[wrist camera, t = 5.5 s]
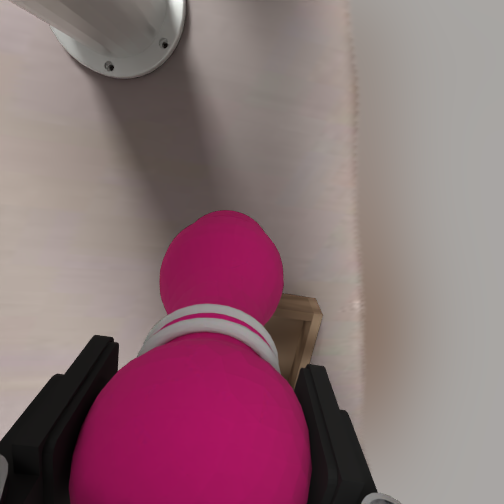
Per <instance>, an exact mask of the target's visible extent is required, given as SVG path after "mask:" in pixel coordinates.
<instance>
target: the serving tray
mask: <svg viewBox="0 0 504 504" xmlns="http://www.w3.org/2000/svg"><path fill="white" fill-rule="evenodd" d="M322 316H323V314H322V312H321V310H320V307H319V305H318V303H317V301H316V299H315V298H309V297H303V296H296V295H290V294H284V293H282V296H281V298H280V301H279V304H278V306H277V308H276V311H275V312H274V314H273V315H272V317H271V318H270V319H269V321H268V322H267V323H266V324H265V325H264V326H263V327H264V328H265V329H266V330H267V332H268V333H269V335H270V336H271V338H272V340H273V342H274V344H275V347H276V349H277V352H278V360H279V363H278V365H279V368H280V372H281V375H282V376H283V377H284V378H285V379H286V380H287V382H288V383H289V384H290V386H291V387H292V389H293V391H294V389H295V386H296V382H297V379H298V375H299V371H300V369H301V368H305V367H306V365H307V364H309V363H310V359H311V356H312V352H313V348H314V345H315V341H316V338H317V334H318V331H319V327H320V324H321V320H322Z"/></svg>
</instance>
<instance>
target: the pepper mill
mask: <svg viewBox="0 0 504 504" xmlns="http://www.w3.org/2000/svg"><path fill="white" fill-rule="evenodd" d="M283 286H284V282H283V266H282V261H281V258H280V254H279V252H278V250H277V248H276V246H275V245H274V243H273V242H272V241H271V239H270V238H269V237H268V236H267V235H266V234H265V232H264V231H263V229H262V228H261V227H260V226H259V224H258V223H257V222H255V221H254V220H253V219H252V218H250V217H249V216H247V215H245V214H242V213H239V212H236V211H229V210H222V211H215V212H212V213H209V214H207V215H204V216H203V217H201V218H200V219H198V220H197V221H196V222H195V223H193V224H191V225H189V226H188V227H186V228H185V229H184V230H182V231H181V232H180V233H179V234H178V235H177V236H176V237H175V238H174V240H173V241H172V243H171V244H170V245H169V247H168V250H167V252H166V254H165V257H164V259H163V262H162V265H161V269H160V294H161V299H162V302H163V304H164V307H165V309H166V312H167V314H168V315H167V316H166V317H164V318H163V319H162V320H160V321H159V322H158V323H157V324H156V325H155V326H154V327H153V328H152V330H151V331H150V332H149V334H148V335H147V337H146V339H145V341H144V344H143V347H142V348H141V350H140V352H139V353H138V356H137V358H135V359H133V360H132V361H130V362H129V363H128V364H126V365H125V366H124V367H123V368H121V369H120V370H119V371H118V372H117V373H116V374H115V375H114V376H113V377H112V379H111V380H110V381H109V382H108V383H107V384H106V386H105V387H104V388H103V389H102V390H101V392H100V393H99V394H98V396H97V397H96V399H95V401H94V403H93V404H92V406H91V408H90V410H89V412H88V414H87V416H86V418H85V420H84V422H83V424H82V426H81V428H80V432H79V435H78V438H77V442H76V445H75V448H74V452H73V455H72V463H71V471H70V479H69V487H68V488H69V496H70V503H71V504H307V501H308V494H309V487H310V480H311V474H312V462H311V450H310V439H309V430H308V426H307V423H306V420H305V417H304V413H303V410H302V407H301V404H300V403H299V401H298V399H297V397H296V395H295V393H294V391H293V389H292V387H291V386H290V384H289V383H288V382H287V380H286V379H285V378H284V377H283V376H282V375H281V372H280V368H279V365H278V363H279V360H278V352H277V349H276V347H275V344H274V342H273V340H272V338H271V336H270V335H269V333H268V332H267V330H266V329H265V328H264V327H263V326H264V325H265V324H266V323H267V322H268V321H269V319H270V318H271V317H272V315H273V314H274V312H275V311H276V308H277V306H278V304H279V301H280V298H281V296H282V291H283Z"/></svg>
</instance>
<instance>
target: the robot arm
mask: <svg viewBox="0 0 504 504" xmlns="http://www.w3.org/2000/svg"><path fill="white" fill-rule="evenodd" d="M9 1H11V2H12V3H14V4H16V5H17V6H19V7H21V8H22V9H24V10H26V11H27V12H29V13H31V14H32V15H34V16H36V17H37V18H39V19H41V20H42V21H44V22H46V23H48V24H49V26H50V28H51V30H52V31H53V33H54V35H55V36H56V38H57V39H58V41H59V42H60V44H61V45H62V46H63V47H64V48H65V49H66V51H67V52H68V53H69V54H70V55H71V56H72V57H74V58H75V59H76V60H77V61H78V62H80V63H81V64H82V65H84V66H86V67H88V68H89V69H91V70H93V71H95V72H97V73H100V74H102V75H105V76H109V77H113V78H123V79H130V78H135V77H141V76H143V75H146V74H148V73H150V72H152V71H154V70H155V69H157V68H158V67H160V66H161V65H162V64H163V63H164V62H165V61H166V60H167V59H168V58H169V57H170V56H171V54H172V53H173V51H174V49H175V48H176V46H177V44H178V42H179V39H180V37H181V34H182V31H183V27H184V22H185V16H186V0H9ZM165 43H167V44H168V47H167V48H163V45H164V44H165ZM111 66H114V70H113V71H111ZM118 354H119V343H117V342H114V339H113V337H107V336H100V335H94V336H93V337H92V338H91V340H90V341H89V342H88V344H87V345H86V346H85V348H84V349H83V350H82V352H81V353H80V354H79V356H78V357H77V358H76V360H75V361H74V362H73V364H72V365H71V366H70V368H69V369H68V370H67V372H66V373H65V374H64V375H63V374H56V375H54V376H53V377H52V378H51V379H50V380H49V381H48V382H47V384H46V385H45V386H44V387H43V389H42V390H41V391H40V392H39V394H38V395H37V396H36V397H35V399H34V400H33V401H32V402H31V404H30V405H29V406H28V407H27V409H26V410H25V411H24V412H23V414H22V415H21V416H20V417H19V419H18V420H17V421H16V422H15V424H14V425H13V426H12V427H11V429H10V430H9V431H8V432H7V434H6V435H5V436H4V437H3V439H2V440H1V441H0V504H71V503H70V496H69V488H68V487H69V479H70V471H71V463H72V455H73V452H74V448H75V445H76V442H77V438H78V435H79V432H80V428H81V426H82V424H83V422H84V420H85V418H86V416H87V414H88V412H89V410H90V408H91V406H92V404H93V403H94V401H95V399H96V397H97V396H98V394H99V393H100V392H101V390H102V389H103V388H104V387H105V386H106V384H107V383H108V382H109V381H110V380H111V379H112V377H113V376H114V375H115V374H116V373H117V372H118ZM294 393H295V395H296V397H297V399H298V401H299V403H300V404H301V407H302V410H303V413H304V417H305V420H306V423H307V426H308V430H309V439H310V450H311V462H312V474H311V480H310V487H309V494H308V501H307V504H401V503H400V502H399V501H398V500H396V499H394V498H392V497H391V496H389V495H386V494H382V493H378V492H377V489H376V487H375V484H374V481H373V479H372V476H371V473H370V471H369V468H368V465H367V463H366V460H365V457H364V455H363V452H362V449H361V447H360V444H359V441H358V439H357V436H356V433H355V431H354V428H353V425H352V423H351V420H350V417H349V415H348V413H347V412H346V411H345V410H340V409H339V407H338V404H337V401H336V398H335V395H334V392H333V389H332V386H331V384H330V381H329V378H328V375H327V372H326V369H325V367H324V366H319V365H311V364H307V365H306V367H305V368H301V369H300V371H299V375H298V379H297V382H296V386H295V389H294Z"/></svg>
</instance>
